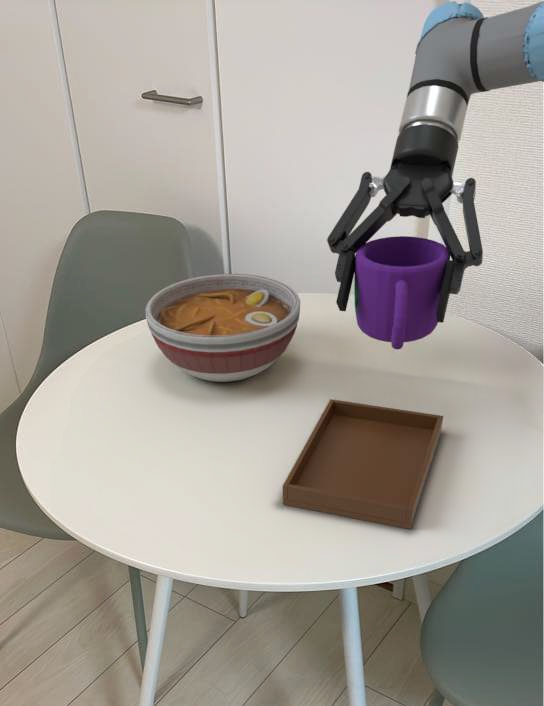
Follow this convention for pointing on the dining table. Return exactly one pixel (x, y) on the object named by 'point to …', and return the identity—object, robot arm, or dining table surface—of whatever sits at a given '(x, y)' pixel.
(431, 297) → the mug
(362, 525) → the dining table surface
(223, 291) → the bowl
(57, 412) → the dining table surface
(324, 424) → the tray
